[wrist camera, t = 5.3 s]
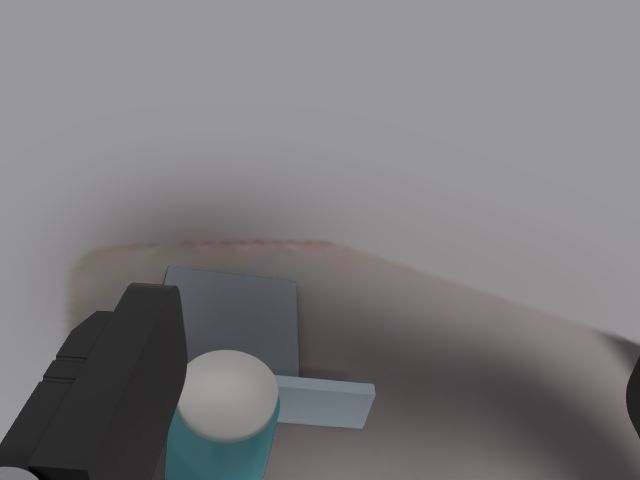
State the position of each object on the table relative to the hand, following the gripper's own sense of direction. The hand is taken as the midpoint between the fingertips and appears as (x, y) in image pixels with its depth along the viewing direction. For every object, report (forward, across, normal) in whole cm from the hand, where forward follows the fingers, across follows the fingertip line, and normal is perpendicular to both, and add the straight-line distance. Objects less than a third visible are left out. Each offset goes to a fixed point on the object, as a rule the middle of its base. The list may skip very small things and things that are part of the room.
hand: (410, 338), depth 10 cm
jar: (+13, -9, -28) cm, 32 cm away
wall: (+21, -8, -28) cm, 36 cm away
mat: (+30, -11, -27) cm, 41 cm away
